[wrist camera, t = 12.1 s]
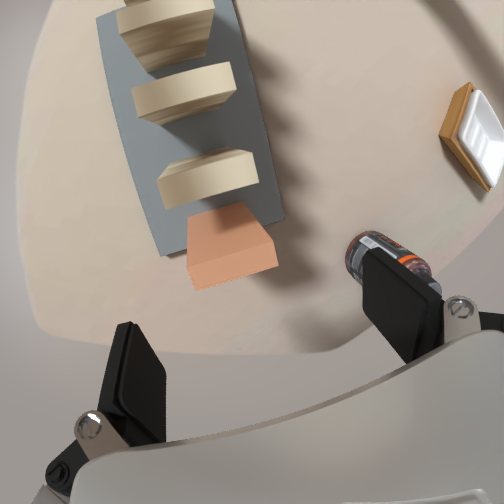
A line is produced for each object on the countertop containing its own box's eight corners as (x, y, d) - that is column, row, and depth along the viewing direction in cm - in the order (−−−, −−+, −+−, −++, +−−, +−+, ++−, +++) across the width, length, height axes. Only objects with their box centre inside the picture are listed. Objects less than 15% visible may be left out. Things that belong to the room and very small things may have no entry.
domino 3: (227, 146, 23) (252, 152, 14) (232, 164, 23) (259, 182, 14) (170, 163, 22) (155, 180, 13) (175, 180, 23) (165, 210, 14)
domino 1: (201, 41, 18) (208, -13, 9) (204, 56, 19) (215, 8, 10) (143, 57, 18) (115, 12, 9) (146, 72, 19) (119, 34, 10)
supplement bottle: (392, 242, 31) (457, 285, 21) (366, 282, 33) (422, 337, 23) (361, 219, 29) (432, 262, 19) (333, 265, 31) (391, 323, 21)
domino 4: (242, 201, 25) (273, 241, 16) (246, 217, 26) (278, 265, 17) (187, 217, 24) (186, 267, 15) (193, 233, 25) (195, 291, 16)
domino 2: (213, 91, 21) (229, 61, 12) (218, 108, 21) (236, 89, 12) (155, 108, 20) (130, 88, 11) (160, 125, 21) (138, 117, 12)
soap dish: (429, 136, 27) (459, 140, 23) (450, 80, 25) (478, 80, 20) (470, 186, 32) (495, 195, 27) (488, 136, 29) (513, 141, 24)
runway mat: (224, -13, 17) (226, -18, 16) (281, 216, 27) (285, 219, 26) (98, 21, 16) (95, 18, 15) (161, 252, 26) (160, 256, 25)
